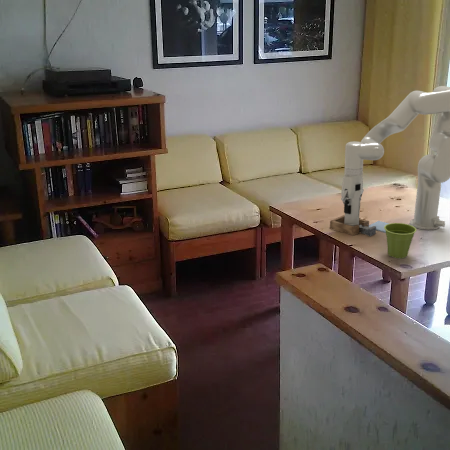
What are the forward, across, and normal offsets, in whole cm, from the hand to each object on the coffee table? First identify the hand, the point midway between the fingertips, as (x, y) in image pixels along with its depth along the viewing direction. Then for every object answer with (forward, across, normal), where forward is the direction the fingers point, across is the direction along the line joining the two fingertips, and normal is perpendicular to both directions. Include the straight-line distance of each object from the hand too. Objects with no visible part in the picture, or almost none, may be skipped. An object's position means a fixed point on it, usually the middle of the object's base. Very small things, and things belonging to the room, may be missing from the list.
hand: (352, 211), depth 242 cm
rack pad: (+9, -10, +9) cm, 16 cm away
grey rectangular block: (+8, +1, +7) cm, 11 cm away
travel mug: (+7, 0, 0) cm, 7 cm away
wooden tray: (+8, +1, -1) cm, 8 cm away
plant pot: (+9, +13, +29) cm, 33 cm away
